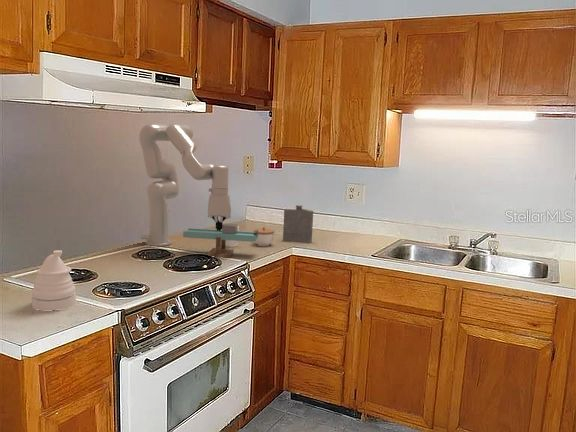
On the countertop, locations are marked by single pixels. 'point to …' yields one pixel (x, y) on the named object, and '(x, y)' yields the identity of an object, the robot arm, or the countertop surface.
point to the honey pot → (53, 285)
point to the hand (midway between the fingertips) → (219, 230)
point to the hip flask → (298, 225)
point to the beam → (220, 235)
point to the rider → (229, 228)
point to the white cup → (232, 243)
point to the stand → (220, 249)
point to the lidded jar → (264, 236)
